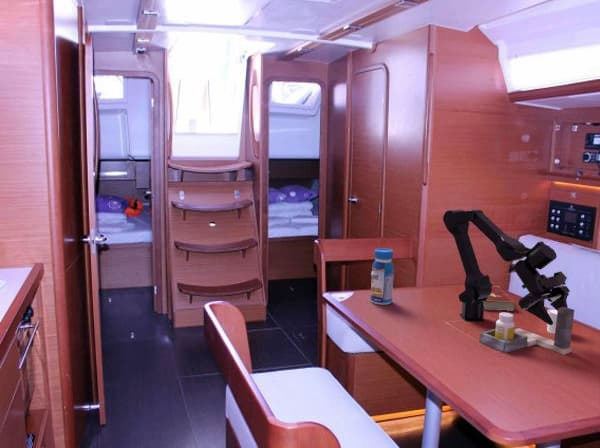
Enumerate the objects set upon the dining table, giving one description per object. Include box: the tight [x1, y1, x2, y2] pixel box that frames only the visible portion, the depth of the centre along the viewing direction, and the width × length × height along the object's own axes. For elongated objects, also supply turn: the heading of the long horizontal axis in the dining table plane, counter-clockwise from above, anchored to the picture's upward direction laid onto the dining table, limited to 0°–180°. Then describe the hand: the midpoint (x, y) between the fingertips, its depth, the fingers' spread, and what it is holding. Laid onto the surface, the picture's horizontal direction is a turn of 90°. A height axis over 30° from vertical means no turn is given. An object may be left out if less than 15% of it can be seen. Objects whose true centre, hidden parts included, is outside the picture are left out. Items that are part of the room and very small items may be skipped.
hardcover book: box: [483, 285, 516, 312], centre depth 209 cm, size 12×21×4 cm, turn 175°
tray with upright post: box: [479, 307, 575, 355], centre depth 164 cm, size 19×18×13 cm
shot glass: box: [546, 308, 558, 335], centre depth 178 cm, size 7×7×7 cm
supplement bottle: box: [495, 311, 516, 341], centre depth 166 cm, size 5×5×10 cm
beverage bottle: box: [370, 247, 395, 306], centre depth 204 cm, size 8×8×20 cm
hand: (560, 321), depth 162 cm, fingers open, 9 cm apart
